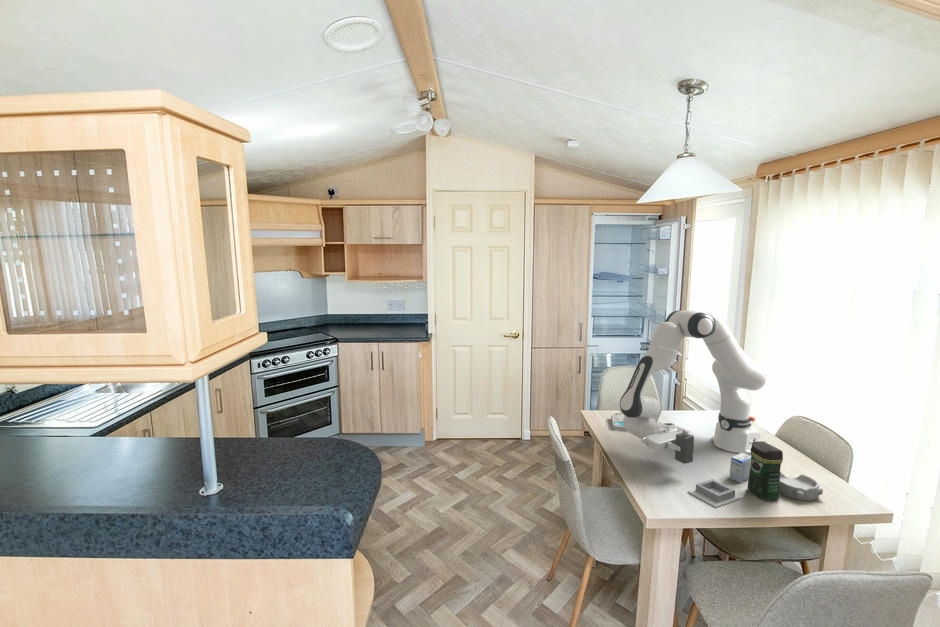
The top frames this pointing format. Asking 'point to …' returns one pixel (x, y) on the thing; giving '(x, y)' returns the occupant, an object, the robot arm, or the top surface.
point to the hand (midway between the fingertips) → (686, 447)
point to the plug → (684, 447)
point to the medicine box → (740, 467)
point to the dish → (800, 487)
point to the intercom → (618, 422)
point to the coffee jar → (765, 470)
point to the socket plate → (715, 493)
